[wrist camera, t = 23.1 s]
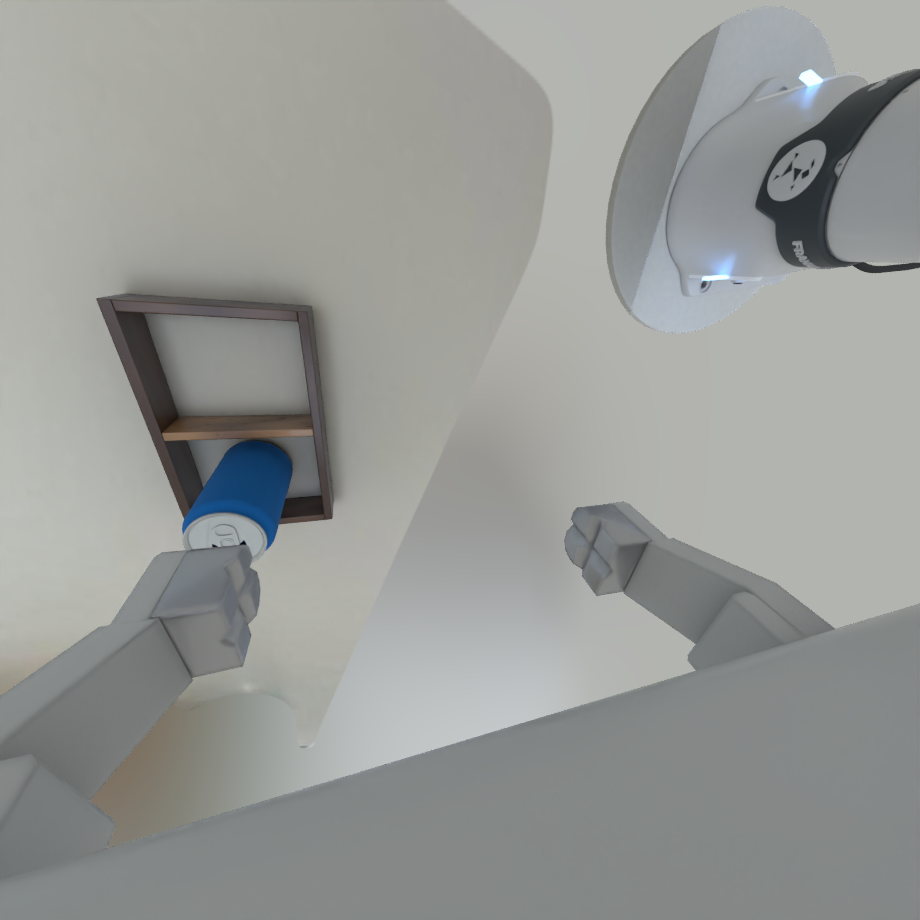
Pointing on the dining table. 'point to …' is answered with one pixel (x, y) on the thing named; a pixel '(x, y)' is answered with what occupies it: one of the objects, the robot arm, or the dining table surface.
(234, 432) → the tray
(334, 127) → the dining table surface
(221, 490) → the beverage can
